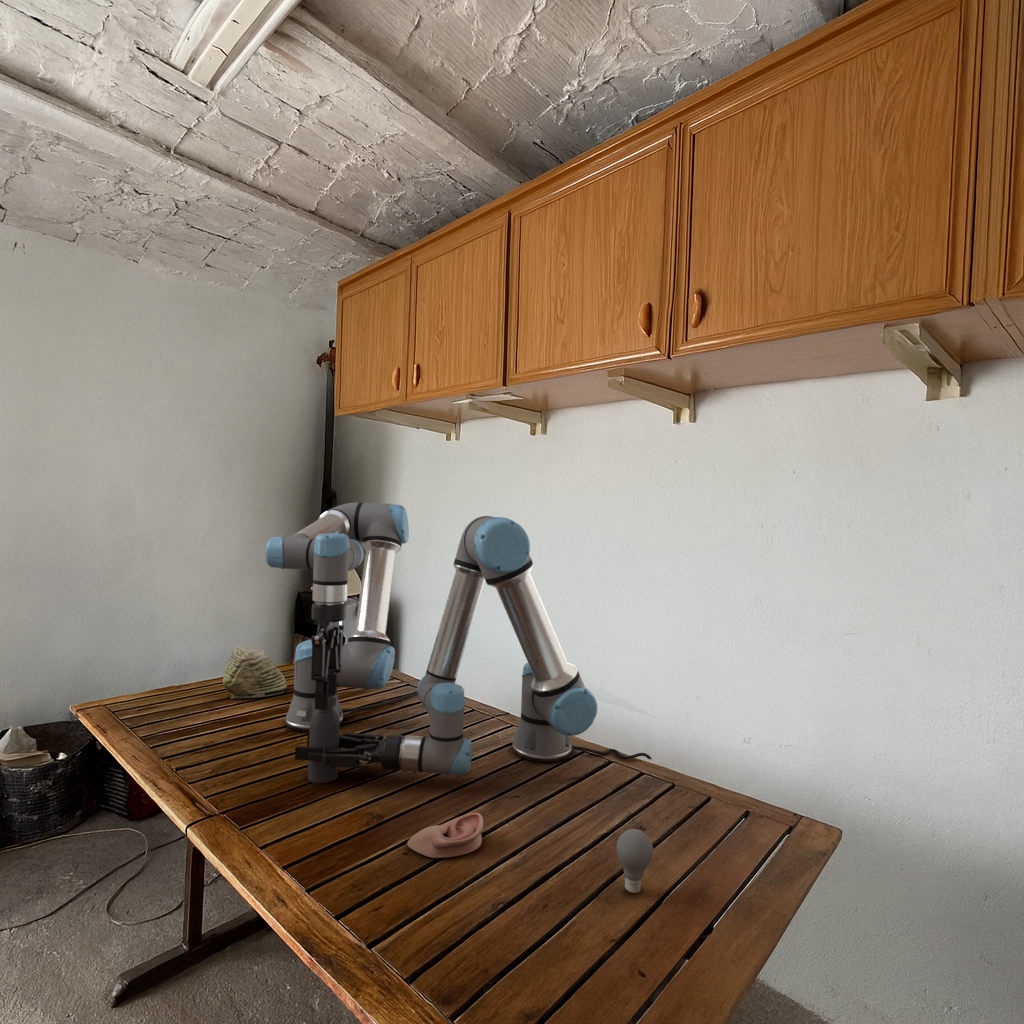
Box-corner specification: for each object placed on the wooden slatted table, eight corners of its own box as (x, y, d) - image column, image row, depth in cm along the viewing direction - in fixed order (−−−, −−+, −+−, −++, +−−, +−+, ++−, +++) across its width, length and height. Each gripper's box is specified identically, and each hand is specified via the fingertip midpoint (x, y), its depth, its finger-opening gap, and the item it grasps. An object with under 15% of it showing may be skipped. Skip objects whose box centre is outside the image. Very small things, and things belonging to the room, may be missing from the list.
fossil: (218, 695, 195) (220, 647, 195) (278, 685, 208) (279, 640, 207) (228, 703, 189) (230, 653, 188) (289, 692, 201) (290, 645, 201)
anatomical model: (401, 831, 114) (423, 801, 125) (400, 853, 114) (422, 821, 125) (472, 842, 111) (488, 811, 122) (471, 864, 111) (487, 831, 122)
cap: (334, 701, 146) (334, 690, 146) (337, 707, 142) (338, 696, 142) (314, 702, 144) (314, 692, 144) (316, 709, 140) (317, 698, 140)
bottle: (329, 784, 139) (332, 702, 139) (302, 781, 141) (305, 699, 140) (342, 772, 146) (345, 693, 145) (316, 769, 147) (319, 691, 147)
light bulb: (610, 879, 108) (613, 822, 108) (644, 879, 109) (647, 822, 109) (619, 902, 102) (622, 840, 102) (655, 901, 103) (658, 840, 103)
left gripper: (328, 595, 152) (324, 692, 152) (296, 607, 134) (292, 717, 135) (358, 597, 151) (354, 694, 151) (330, 609, 133) (326, 719, 134)
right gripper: (391, 789, 132) (283, 781, 134) (411, 752, 152) (317, 746, 153) (392, 753, 132) (284, 746, 134) (412, 721, 152) (318, 715, 153)
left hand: (325, 705), depth 143 cm, fingers closed on cap, 4 cm apart
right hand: (302, 746), depth 143 cm, fingers closed on bottle, 6 cm apart
